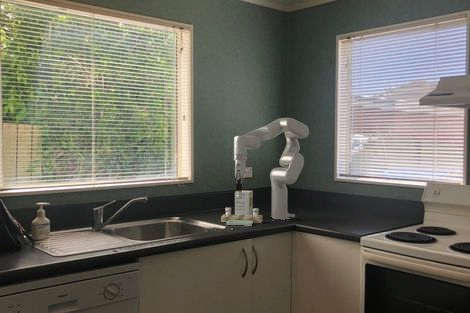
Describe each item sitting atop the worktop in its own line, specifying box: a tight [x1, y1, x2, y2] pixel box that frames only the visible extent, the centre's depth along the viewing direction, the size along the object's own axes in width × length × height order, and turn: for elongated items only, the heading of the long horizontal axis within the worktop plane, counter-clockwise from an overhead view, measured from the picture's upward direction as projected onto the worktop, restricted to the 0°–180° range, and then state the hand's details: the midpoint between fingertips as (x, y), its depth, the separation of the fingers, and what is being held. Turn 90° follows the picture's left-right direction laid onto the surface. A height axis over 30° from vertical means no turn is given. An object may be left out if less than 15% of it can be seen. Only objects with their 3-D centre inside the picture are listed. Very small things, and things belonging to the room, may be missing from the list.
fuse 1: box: [225, 207, 232, 216], centre depth 276 cm, size 3×3×8 cm
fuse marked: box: [236, 183, 244, 198], centre depth 266 cm, size 3×3×8 cm
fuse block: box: [220, 214, 264, 224], centre depth 275 cm, size 23×8×4 cm, turn 82°
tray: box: [225, 220, 254, 227], centre depth 265 cm, size 14×9×2 cm, turn 82°
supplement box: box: [234, 190, 254, 215], centre depth 292 cm, size 10×9×17 cm
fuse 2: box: [253, 207, 260, 217], centre depth 273 cm, size 3×3×8 cm
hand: (239, 190), depth 266 cm, fingers closed on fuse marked, 3 cm apart
